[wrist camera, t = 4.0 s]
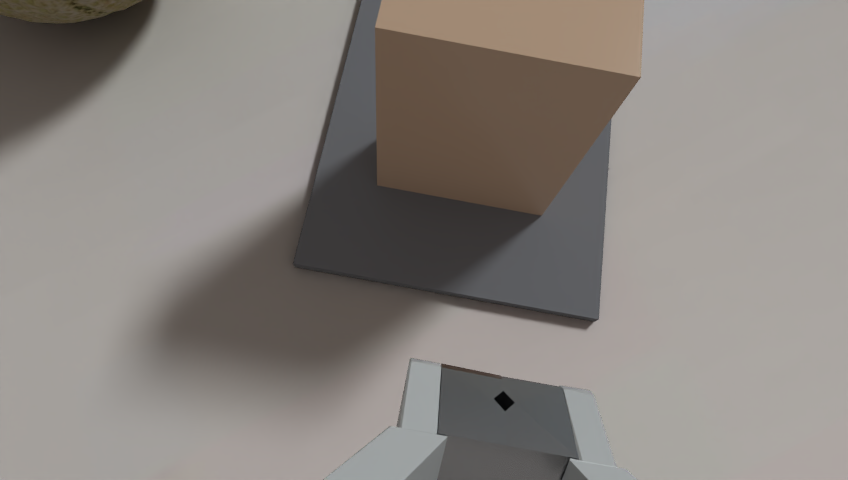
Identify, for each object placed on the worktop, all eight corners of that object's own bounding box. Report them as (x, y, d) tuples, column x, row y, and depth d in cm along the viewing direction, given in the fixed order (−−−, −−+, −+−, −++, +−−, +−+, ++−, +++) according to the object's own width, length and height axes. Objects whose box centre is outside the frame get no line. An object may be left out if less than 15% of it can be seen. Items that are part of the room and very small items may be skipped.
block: (541, 215, 27) (640, 77, 17) (377, 185, 27) (375, 27, 17) (547, 160, 28) (644, -3, 18) (389, 130, 28) (393, -50, 18)
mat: (594, 321, 26) (598, 319, 26) (294, 266, 26) (293, 263, 26) (616, -15, 33) (620, -21, 32) (379, -60, 33) (379, -67, 32)
